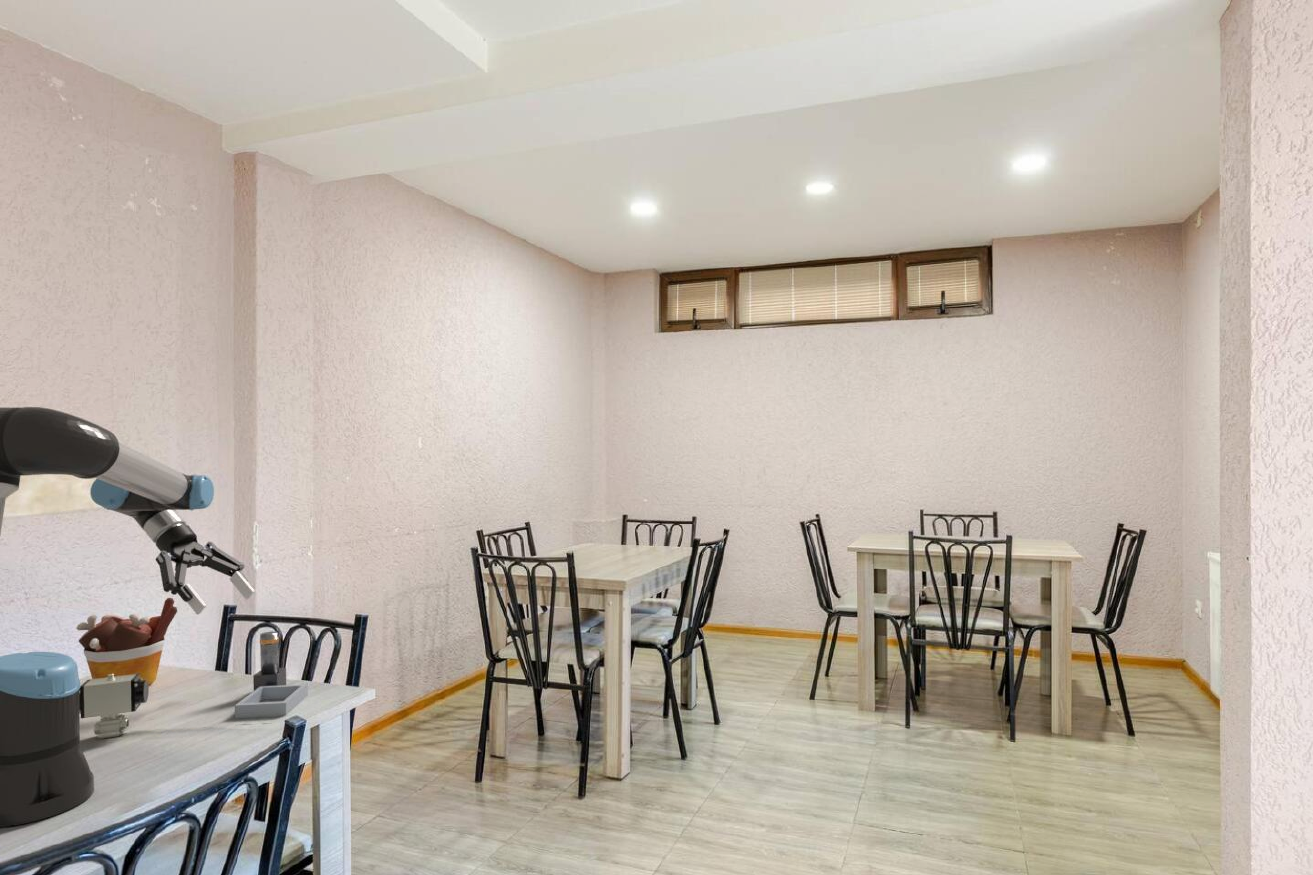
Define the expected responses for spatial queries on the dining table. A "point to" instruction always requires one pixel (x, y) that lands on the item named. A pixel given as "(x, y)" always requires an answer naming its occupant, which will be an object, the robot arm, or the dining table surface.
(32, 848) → the dining table surface
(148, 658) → the bucket of meat
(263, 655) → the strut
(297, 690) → the bin
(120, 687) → the pneumatic valve
